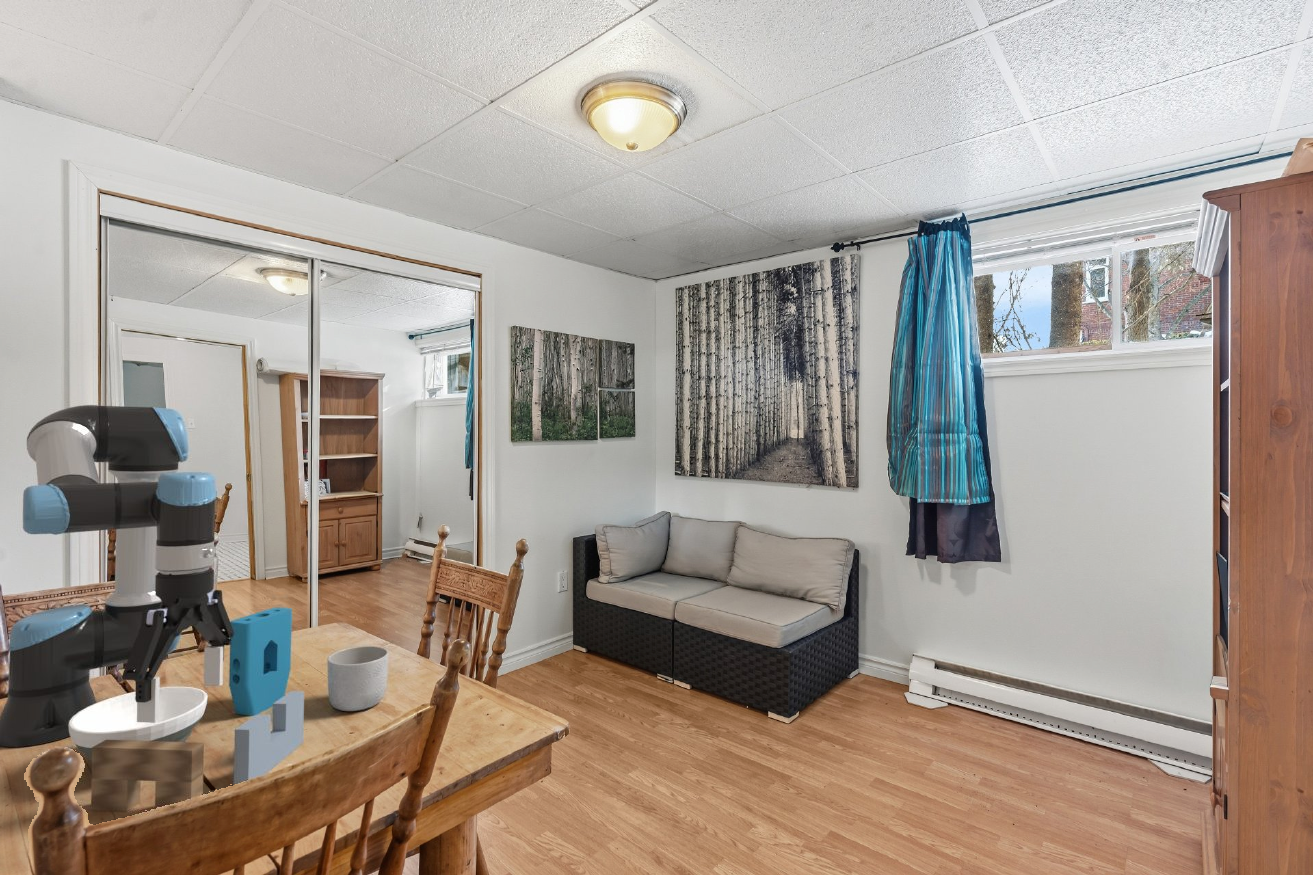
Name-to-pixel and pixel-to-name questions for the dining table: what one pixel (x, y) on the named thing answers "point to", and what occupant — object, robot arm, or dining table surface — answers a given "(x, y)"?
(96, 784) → the wooden blocks
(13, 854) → the dining table surface
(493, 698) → the dining table surface
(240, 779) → the slot stand
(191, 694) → the bowl
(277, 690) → the block
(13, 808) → the dining table surface
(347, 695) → the planter
